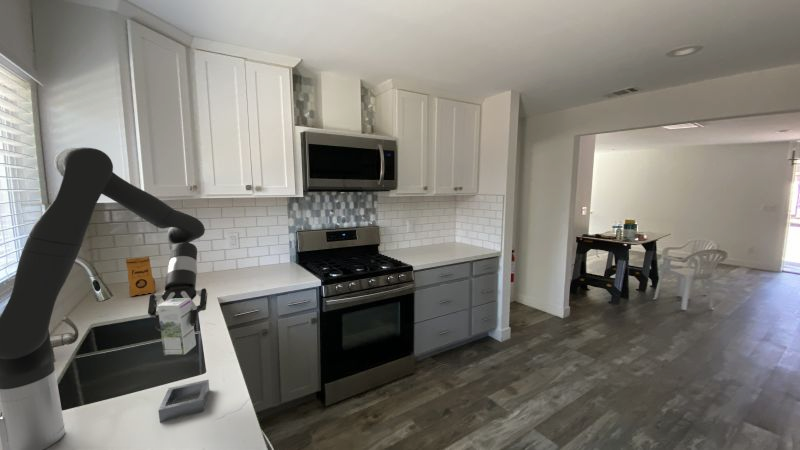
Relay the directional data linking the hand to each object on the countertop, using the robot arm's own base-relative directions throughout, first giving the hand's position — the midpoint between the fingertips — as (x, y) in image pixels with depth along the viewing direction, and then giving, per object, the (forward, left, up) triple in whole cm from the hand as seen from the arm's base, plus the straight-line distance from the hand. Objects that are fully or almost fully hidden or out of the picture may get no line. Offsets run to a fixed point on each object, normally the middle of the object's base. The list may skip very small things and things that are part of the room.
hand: (176, 327), depth 88 cm
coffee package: (-45, +126, -24) cm, 136 cm away
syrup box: (0, +2, -8) cm, 8 cm away
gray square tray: (0, +1, -24) cm, 24 cm away
